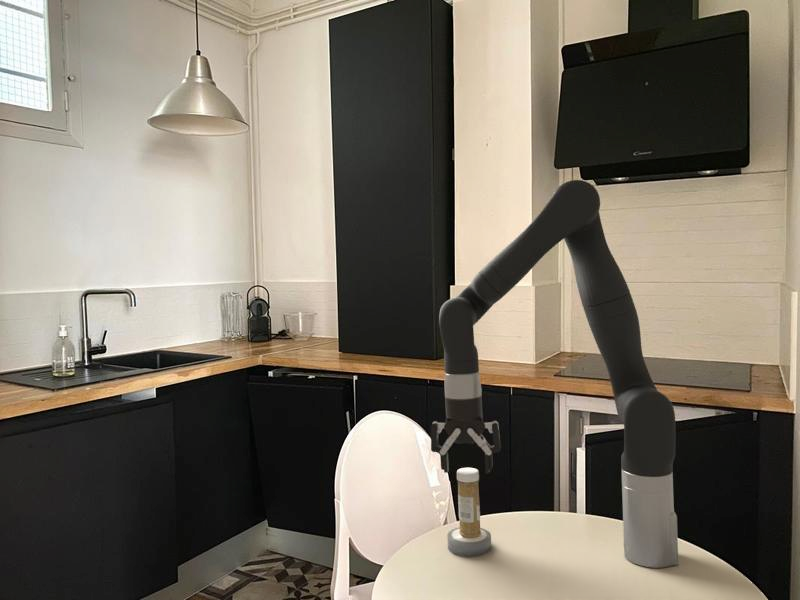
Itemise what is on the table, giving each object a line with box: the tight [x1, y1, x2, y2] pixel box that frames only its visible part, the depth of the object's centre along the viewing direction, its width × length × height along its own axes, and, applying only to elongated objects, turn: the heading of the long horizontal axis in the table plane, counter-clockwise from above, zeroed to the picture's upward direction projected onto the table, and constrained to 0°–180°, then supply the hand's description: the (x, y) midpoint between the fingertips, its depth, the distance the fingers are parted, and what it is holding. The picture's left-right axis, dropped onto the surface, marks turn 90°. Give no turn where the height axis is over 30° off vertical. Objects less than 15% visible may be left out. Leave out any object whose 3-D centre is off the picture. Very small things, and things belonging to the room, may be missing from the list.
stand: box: [446, 526, 492, 558], centre depth 127 cm, size 9×9×3 cm
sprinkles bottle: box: [456, 467, 481, 538], centre depth 127 cm, size 5×5×14 cm
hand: (467, 471), depth 127 cm, fingers open, 8 cm apart
